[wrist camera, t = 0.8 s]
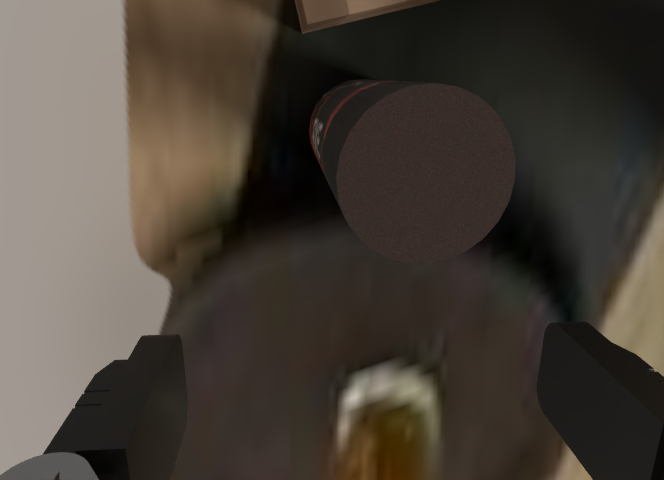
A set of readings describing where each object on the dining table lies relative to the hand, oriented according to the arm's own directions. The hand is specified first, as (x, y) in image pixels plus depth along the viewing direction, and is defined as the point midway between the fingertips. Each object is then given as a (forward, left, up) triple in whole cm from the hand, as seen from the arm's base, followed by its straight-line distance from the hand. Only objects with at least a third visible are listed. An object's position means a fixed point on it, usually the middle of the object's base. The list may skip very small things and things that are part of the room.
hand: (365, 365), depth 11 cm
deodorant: (-4, -2, -22) cm, 22 cm away
